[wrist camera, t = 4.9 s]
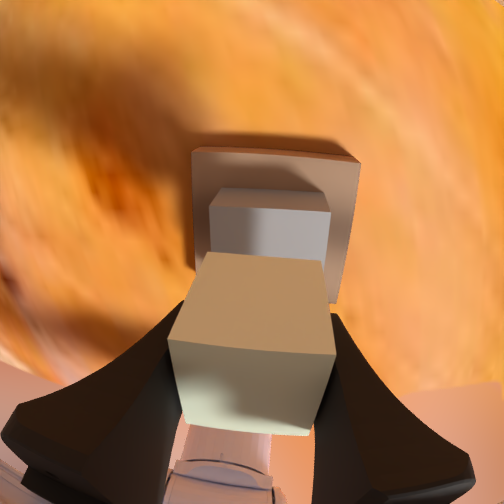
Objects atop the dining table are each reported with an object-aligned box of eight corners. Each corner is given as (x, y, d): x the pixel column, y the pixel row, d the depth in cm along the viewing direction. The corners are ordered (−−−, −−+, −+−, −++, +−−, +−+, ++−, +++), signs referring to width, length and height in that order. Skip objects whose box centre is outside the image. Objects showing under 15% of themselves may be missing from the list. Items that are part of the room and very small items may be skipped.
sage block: (305, 343, 13) (308, 435, 9) (211, 335, 13) (185, 423, 9) (321, 260, 11) (336, 354, 7) (207, 251, 11) (167, 338, 7)
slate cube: (314, 280, 19) (317, 310, 16) (224, 274, 19) (214, 303, 17) (323, 192, 16) (331, 212, 14) (221, 187, 17) (208, 206, 14)
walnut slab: (332, 282, 22) (336, 303, 20) (205, 272, 22) (197, 292, 20) (351, 155, 18) (361, 163, 15) (202, 144, 18) (191, 151, 16)
